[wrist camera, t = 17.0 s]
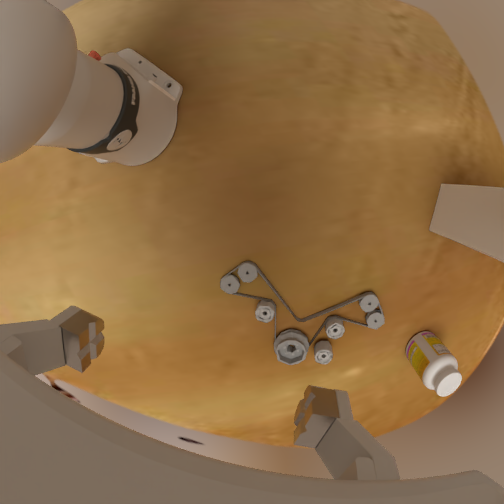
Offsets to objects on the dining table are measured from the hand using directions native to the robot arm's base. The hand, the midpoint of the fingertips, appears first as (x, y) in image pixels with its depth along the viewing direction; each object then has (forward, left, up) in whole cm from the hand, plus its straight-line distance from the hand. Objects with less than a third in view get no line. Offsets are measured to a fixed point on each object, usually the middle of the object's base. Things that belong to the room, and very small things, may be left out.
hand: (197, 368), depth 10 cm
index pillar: (+18, +29, -35) cm, 49 cm away
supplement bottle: (+34, +12, -35) cm, 50 cm away
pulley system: (+15, -4, -36) cm, 39 cm away
